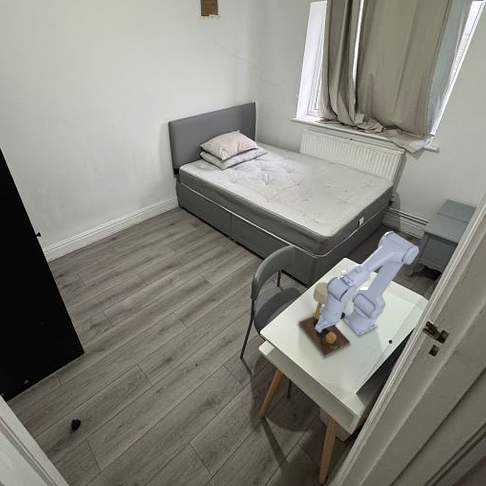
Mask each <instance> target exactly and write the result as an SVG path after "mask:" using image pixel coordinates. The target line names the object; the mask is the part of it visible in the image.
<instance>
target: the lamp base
mask: <svg viewBox="0 0 486 486" xmlns="http://www.w3.org/2000/svg"><path fill="white" fill-rule="evenodd" d="M319 314H320V315H321V312H320V313H319ZM315 320H316V318H314V317H313V315H312V316H310V317H308V318H305V319H303V320H300V321H299V322H298V325H299V327H300V328H301V329H302V331H304V333H305V334H306V335H307V337H308V338H309V339H310V340H311V342H312V343H313V344H314V345H315V347H316V348H317V349H318V351H319V352H320V354H322V355H323V357H324V358H327V357H328V356H330V355H331V354H333V353H336V352H337V351H339V350H341V349H343V348H345V347H347V346H349V345H350V343H351V341H350V340H349V339H348V338H347V337H346V336H345V335H344V334H343V333H342V331H341V330H340V329H339V328H338V327H337V325H335V326H334V327H333V326H329V327H326V328H327V329H328V330H329V331H330V332H332V333H334V334H335V335H336V341H335V343H333V344H331V343H328V342H327V341H326V339H325V336H326V335H325V336H324V337H323V338H322V339H320V338H318V337H317V336H316V330H315V328H314V326H313V322H314V321H315ZM317 320H318V321H319V319H317Z"/></svg>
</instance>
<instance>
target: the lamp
mask: <svg viewBox="0 0 486 486" xmlns="http://www.w3.org/2000/svg"><path fill="white" fill-rule="evenodd" d="M327 284H328V282H325V281H320V282H318V283H316V284H315V287H314V291H313V295H312V296H313V299H314V301H315V302H316V303H317V304H316V307H315V311H314V312H313V313H312V316H313V317H314V318H316V319H319V318H320V314H319V313H321V312H320V311H319V309H320V308H321V307H323V305H325V302H326V299H327V296H328V294H327V289H326V286H327Z"/></svg>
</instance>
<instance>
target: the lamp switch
mask: <svg viewBox="0 0 486 486" xmlns="http://www.w3.org/2000/svg"><path fill="white" fill-rule="evenodd" d="M325 339H326V341H327V342H328V343H331V344H333V343H335V341H336V335H335V334H334V333H332V332H330V333H329V334H327V335H326V336H325Z"/></svg>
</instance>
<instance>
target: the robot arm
mask: <svg viewBox="0 0 486 486" xmlns="http://www.w3.org/2000/svg"><path fill="white" fill-rule="evenodd" d="M419 253H420V250H419V246H418V245H415V244H413V243H412V242H410V241H408V240H407V239H405V238H404V237H402V236H401V235H399V234H397V233H395V232H394V231H393V230H392V231H388V232H386V233H384V234H383V235H382V236H381V238H380V239H379V242H378V245H377V249H376V250H374V252H373V253H372V254H370V256H369V257H367V259H365V260H364V261H363V262H362V263H361V264H358V263H356V264H354V265H353V266H351V267H349V268H350V269H349V270H348V271H346V270H345V271H346V272H345V273H344V274H343V275H341V274H340V276H334V277H333V278H331V279H330V280H329V281H328V282H327V283H328V284H327V286H326V289H327V294H328V296H327V299H326V302H325V304H323V306H322V307H321V308H320V309H319V311H320V313H321V315H320V318H319V321H318V320H317V319H316V320H315V321H314V322H313V326H314V328H315V330H316V336H317V337H318V338H320V339H322V338H323V337H324V336H325V335H327V334H329V333H330V331H329V330H328V329H327V328H326V327H329V326H333V327H334V326H337V325H338V324H339V323H340V321H342V320H343V321H344V322H345V323H346V324H347V325H348V326H349V327H350V328H351V329H352V330H353V331H354V332H355V333H356V335H358V336H361V335H363V334H366V333H367V332H369V331H371V330H372V329H374V328H376V327H377V324H376V322H377V321H378V318H379V317H380V316H381V315H382V314H383V312H384V309H385V307H386V306H387V303H386V300H385V299H384V297H383V294H384V293H385V292H386V291H387V289H388V287H389V285H390V284H391V282H392V281H393V280H394V279H395V277H396V275H397V274H398V272H399V271H400V269H401V268H402V267H403V265H404V264H406V265H411V264H412V263H413V261H414V260H415V258H416V257H417V256H418V254H419ZM379 268H380V269H379ZM377 269H379V271H378V272H377V274H376V275H375V277H374V278H373V279H372V281H371V283H370V284H369V286H365V287H364V286H363V284H365V283H366V282H367V281H369V280H370V278H371V273H373V272H374V271H376V270H377ZM361 286H363V287H361ZM350 299H351V303H353V304H352V306H353V309H352V311H351V314H350V315H349V316H347V317H346V313H345V312H344V309H345V308H346V304H347V302H348V301H349V300H350Z"/></svg>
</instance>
